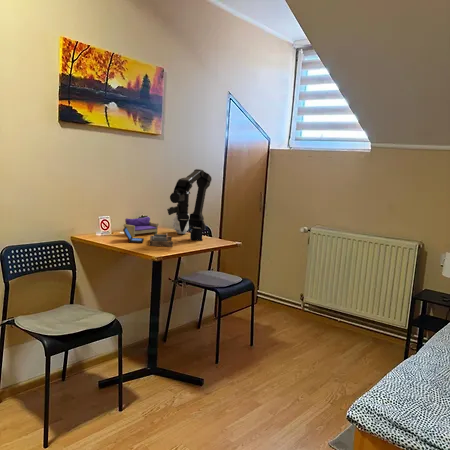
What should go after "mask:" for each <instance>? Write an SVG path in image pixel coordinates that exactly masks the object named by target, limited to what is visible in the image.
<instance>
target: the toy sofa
mask: <svg viewBox="0 0 450 450" xmlns="http://www.w3.org/2000/svg"><path fill="white" fill-rule="evenodd" d="M124 220H125V223H123V229H124V228H125V227H126V228H127V229H128V231H129V233H130V235H131V237H132V238H136V237H135V236H136V235H139V234H140V235H141V234H147V233H149V234H153V235H154V234H158V228H159V227H158V226H159V223H157V222H152V221H151V218H150V216H144V217H138V218H128V217H126V218H125V219H124ZM123 235H124V236H126V235H125V233H124V232H123Z"/></svg>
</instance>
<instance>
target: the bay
mask: <svg viewBox="0 0 450 450" xmlns="http://www.w3.org/2000/svg"><path fill="white" fill-rule="evenodd" d="M153 236H154V235H150V237H149V247H150V246H151V247H167V248H168V247H170V248H172V247H173V241H172V239H173V236H169V235H168V242H166V241H153Z"/></svg>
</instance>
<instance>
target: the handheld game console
mask: <svg viewBox="0 0 450 450" xmlns="http://www.w3.org/2000/svg"><path fill="white" fill-rule="evenodd" d="M122 230H123V234H124V233H125V235H124V236H126V238H127V240H128V244H143V243H144V241H145V238H144V237H132V236H131V235H130V233H129V231H128V229H127V228H126V227H125V228H124V227H123V229H122Z"/></svg>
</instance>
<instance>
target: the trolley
mask: <svg viewBox="0 0 450 450" xmlns="http://www.w3.org/2000/svg"><path fill="white" fill-rule="evenodd" d="M152 236H153V240H152V241H166V242H169V241H168V236H169V235H168V232H167V233H166V234H159V233H157V234H153V235H152Z"/></svg>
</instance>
